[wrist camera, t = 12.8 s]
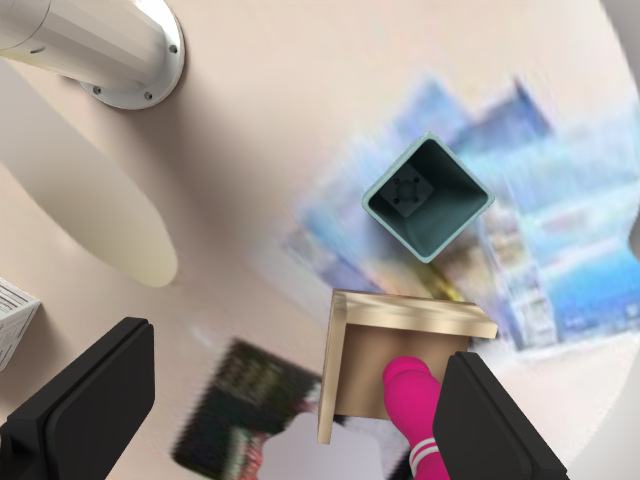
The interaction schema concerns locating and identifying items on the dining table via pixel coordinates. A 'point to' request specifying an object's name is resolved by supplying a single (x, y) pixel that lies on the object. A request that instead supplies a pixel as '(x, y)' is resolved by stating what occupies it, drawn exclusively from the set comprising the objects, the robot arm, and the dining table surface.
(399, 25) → the dining table surface
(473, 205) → the flower pot
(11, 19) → the robot arm
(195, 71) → the dining table surface
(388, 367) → the pepper mill
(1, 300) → the supplement box
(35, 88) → the dining table surface
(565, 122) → the dining table surface
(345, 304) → the corner fence
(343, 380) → the board
